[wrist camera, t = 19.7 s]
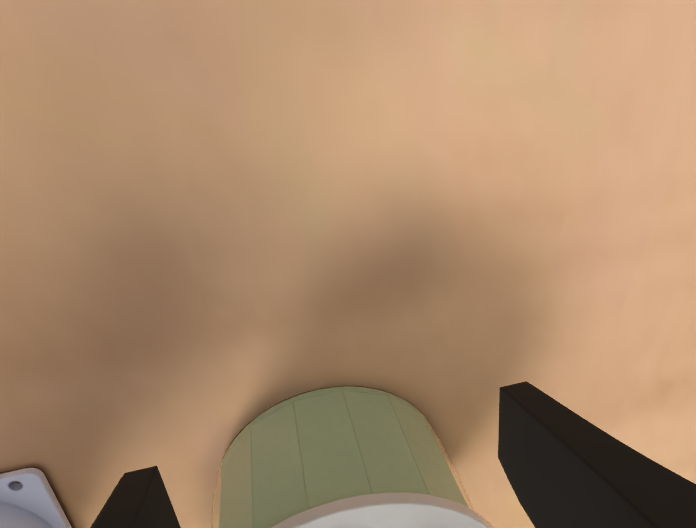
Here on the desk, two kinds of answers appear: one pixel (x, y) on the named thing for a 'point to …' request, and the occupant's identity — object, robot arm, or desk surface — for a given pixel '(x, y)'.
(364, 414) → the pot
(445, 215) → the desk surface
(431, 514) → the lid
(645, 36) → the desk surface
